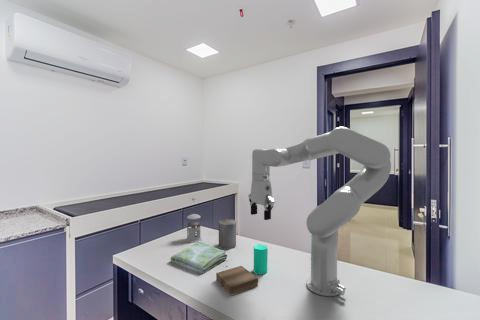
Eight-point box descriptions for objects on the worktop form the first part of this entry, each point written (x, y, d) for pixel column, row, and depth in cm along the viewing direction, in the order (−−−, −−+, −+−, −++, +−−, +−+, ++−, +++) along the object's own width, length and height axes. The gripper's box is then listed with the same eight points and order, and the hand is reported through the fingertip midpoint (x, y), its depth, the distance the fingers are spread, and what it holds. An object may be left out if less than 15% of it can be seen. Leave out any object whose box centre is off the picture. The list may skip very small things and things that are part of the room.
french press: (182, 242, 137) (182, 199, 136) (190, 235, 148) (190, 195, 147) (199, 243, 135) (198, 199, 134) (205, 236, 146) (205, 196, 146)
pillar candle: (221, 241, 137) (221, 216, 137) (237, 243, 136) (237, 217, 135) (216, 248, 128) (216, 221, 127) (234, 250, 126) (233, 222, 125)
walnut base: (257, 285, 92) (257, 278, 92) (230, 295, 86) (230, 287, 86) (241, 272, 102) (241, 265, 102) (216, 280, 96) (216, 273, 96)
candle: (263, 275, 100) (263, 247, 99) (251, 271, 103) (251, 244, 103) (269, 269, 105) (269, 242, 105) (257, 266, 108) (257, 240, 108)
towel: (203, 276, 100) (203, 264, 100) (169, 263, 112) (169, 252, 112) (228, 260, 115) (228, 249, 115) (197, 249, 127) (197, 240, 127)
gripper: (280, 179, 97) (280, 220, 98) (256, 175, 112) (255, 211, 113) (266, 180, 93) (265, 223, 94) (242, 176, 108) (242, 213, 109)
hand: (260, 216), depth 103 cm, fingers open, 9 cm apart
